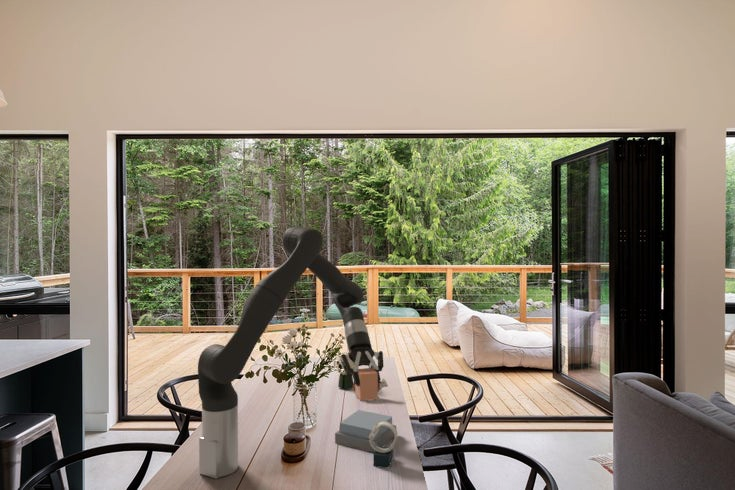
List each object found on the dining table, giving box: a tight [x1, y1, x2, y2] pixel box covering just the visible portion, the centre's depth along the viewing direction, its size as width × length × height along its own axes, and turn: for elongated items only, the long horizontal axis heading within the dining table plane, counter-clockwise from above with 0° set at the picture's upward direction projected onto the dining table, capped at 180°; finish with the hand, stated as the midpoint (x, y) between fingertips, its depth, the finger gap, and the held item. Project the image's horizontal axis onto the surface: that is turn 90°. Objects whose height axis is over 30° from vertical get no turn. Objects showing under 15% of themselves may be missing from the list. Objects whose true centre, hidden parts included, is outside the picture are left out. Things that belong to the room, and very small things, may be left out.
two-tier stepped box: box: [334, 409, 397, 454], centre depth 147 cm, size 14×14×6 cm
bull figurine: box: [352, 378, 389, 401], centre depth 182 cm, size 4×13×8 cm, turn 89°
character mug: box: [332, 353, 360, 390], centre depth 195 cm, size 11×7×13 cm, turn 74°
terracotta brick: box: [354, 367, 379, 402], centre depth 146 cm, size 6×6×8 cm
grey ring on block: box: [369, 421, 399, 468], centre depth 132 cm, size 6×8×11 cm
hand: (368, 383), depth 145 cm, fingers closed on terracotta brick, 5 cm apart
